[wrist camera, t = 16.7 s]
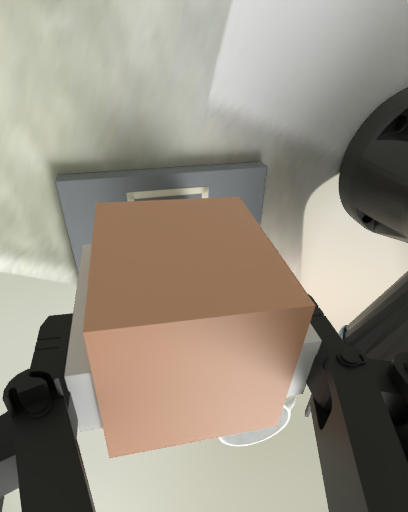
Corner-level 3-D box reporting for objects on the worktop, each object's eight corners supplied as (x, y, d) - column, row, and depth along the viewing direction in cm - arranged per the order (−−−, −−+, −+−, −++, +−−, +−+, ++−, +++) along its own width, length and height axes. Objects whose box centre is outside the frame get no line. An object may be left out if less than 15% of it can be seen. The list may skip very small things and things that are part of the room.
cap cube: (239, 196, 15) (315, 305, 9) (226, 300, 18) (277, 426, 13) (95, 202, 14) (82, 332, 8) (111, 312, 17) (109, 458, 11)
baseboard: (261, 161, 32) (267, 167, 31) (247, 278, 40) (252, 286, 39) (57, 174, 28) (55, 182, 27) (87, 299, 36) (87, 309, 35)
